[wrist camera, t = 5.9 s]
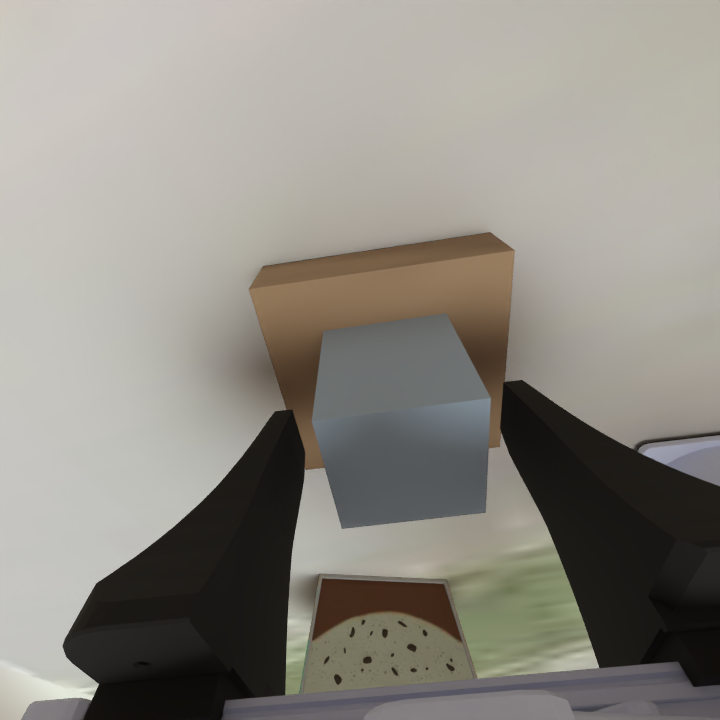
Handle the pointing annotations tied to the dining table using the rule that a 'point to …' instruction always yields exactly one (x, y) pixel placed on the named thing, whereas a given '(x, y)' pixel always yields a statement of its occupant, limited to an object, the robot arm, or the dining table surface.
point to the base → (386, 311)
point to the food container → (383, 634)
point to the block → (401, 422)
